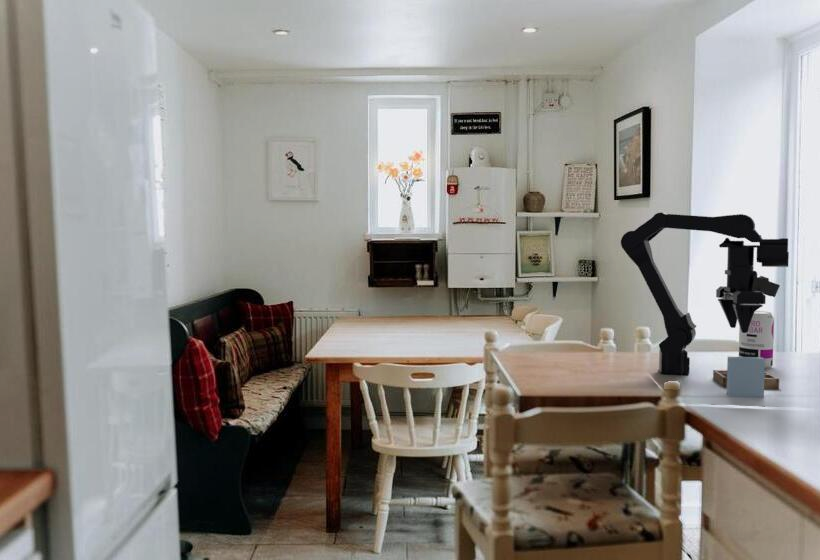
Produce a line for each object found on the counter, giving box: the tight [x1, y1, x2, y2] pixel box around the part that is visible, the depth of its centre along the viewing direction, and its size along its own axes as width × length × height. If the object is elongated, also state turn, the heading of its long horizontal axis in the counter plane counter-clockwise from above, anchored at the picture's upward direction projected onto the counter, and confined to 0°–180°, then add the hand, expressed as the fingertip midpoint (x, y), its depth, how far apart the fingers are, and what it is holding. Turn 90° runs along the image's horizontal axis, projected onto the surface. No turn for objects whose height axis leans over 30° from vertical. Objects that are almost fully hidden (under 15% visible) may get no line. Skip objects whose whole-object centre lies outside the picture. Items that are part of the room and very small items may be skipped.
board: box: [726, 356, 766, 398], centre depth 148 cm, size 7×2×9 cm, turn 80°
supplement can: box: [738, 310, 775, 369], centre depth 183 cm, size 8×8×15 cm
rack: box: [711, 369, 782, 391], centre depth 160 cm, size 12×11×3 cm
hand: (738, 330), depth 165 cm, fingers open, 9 cm apart
